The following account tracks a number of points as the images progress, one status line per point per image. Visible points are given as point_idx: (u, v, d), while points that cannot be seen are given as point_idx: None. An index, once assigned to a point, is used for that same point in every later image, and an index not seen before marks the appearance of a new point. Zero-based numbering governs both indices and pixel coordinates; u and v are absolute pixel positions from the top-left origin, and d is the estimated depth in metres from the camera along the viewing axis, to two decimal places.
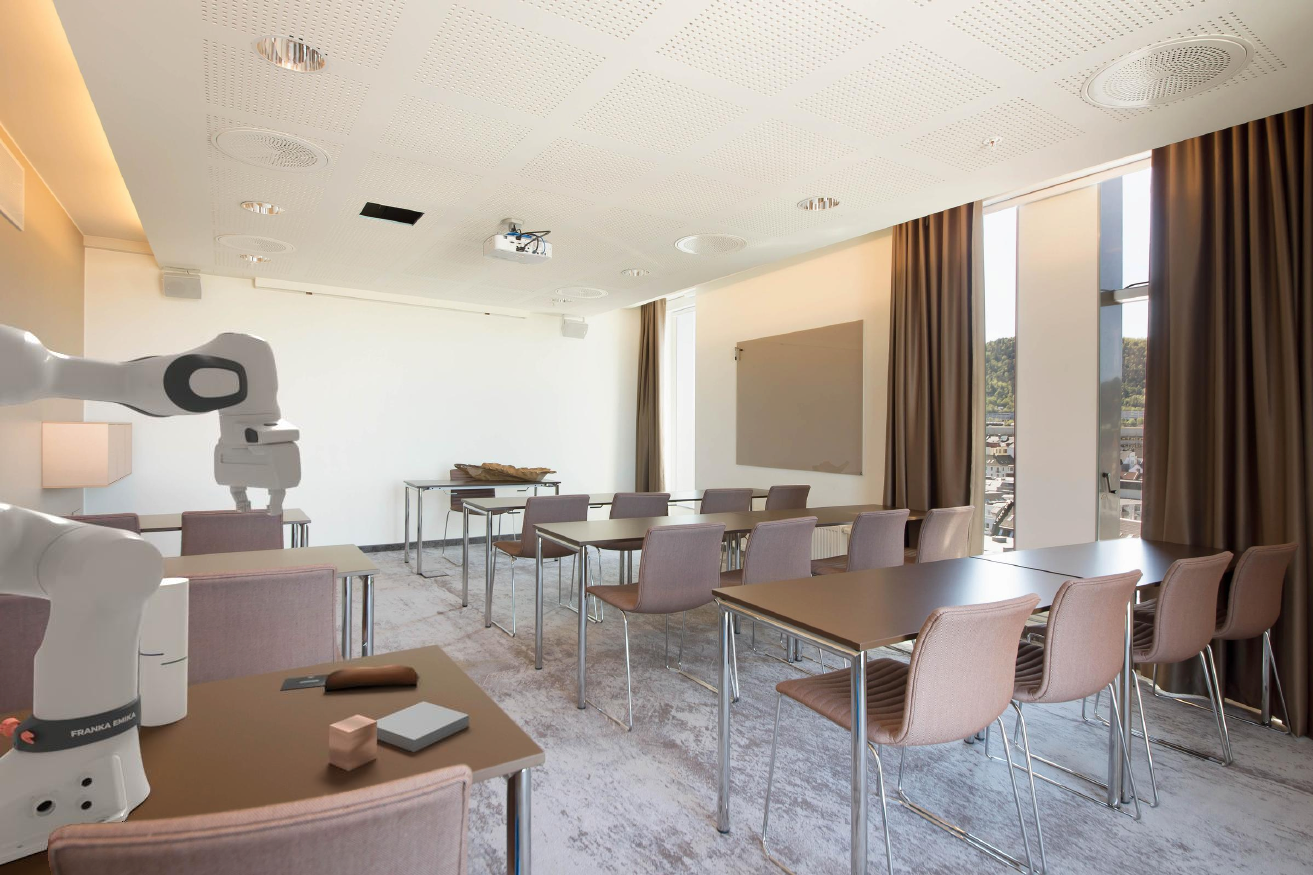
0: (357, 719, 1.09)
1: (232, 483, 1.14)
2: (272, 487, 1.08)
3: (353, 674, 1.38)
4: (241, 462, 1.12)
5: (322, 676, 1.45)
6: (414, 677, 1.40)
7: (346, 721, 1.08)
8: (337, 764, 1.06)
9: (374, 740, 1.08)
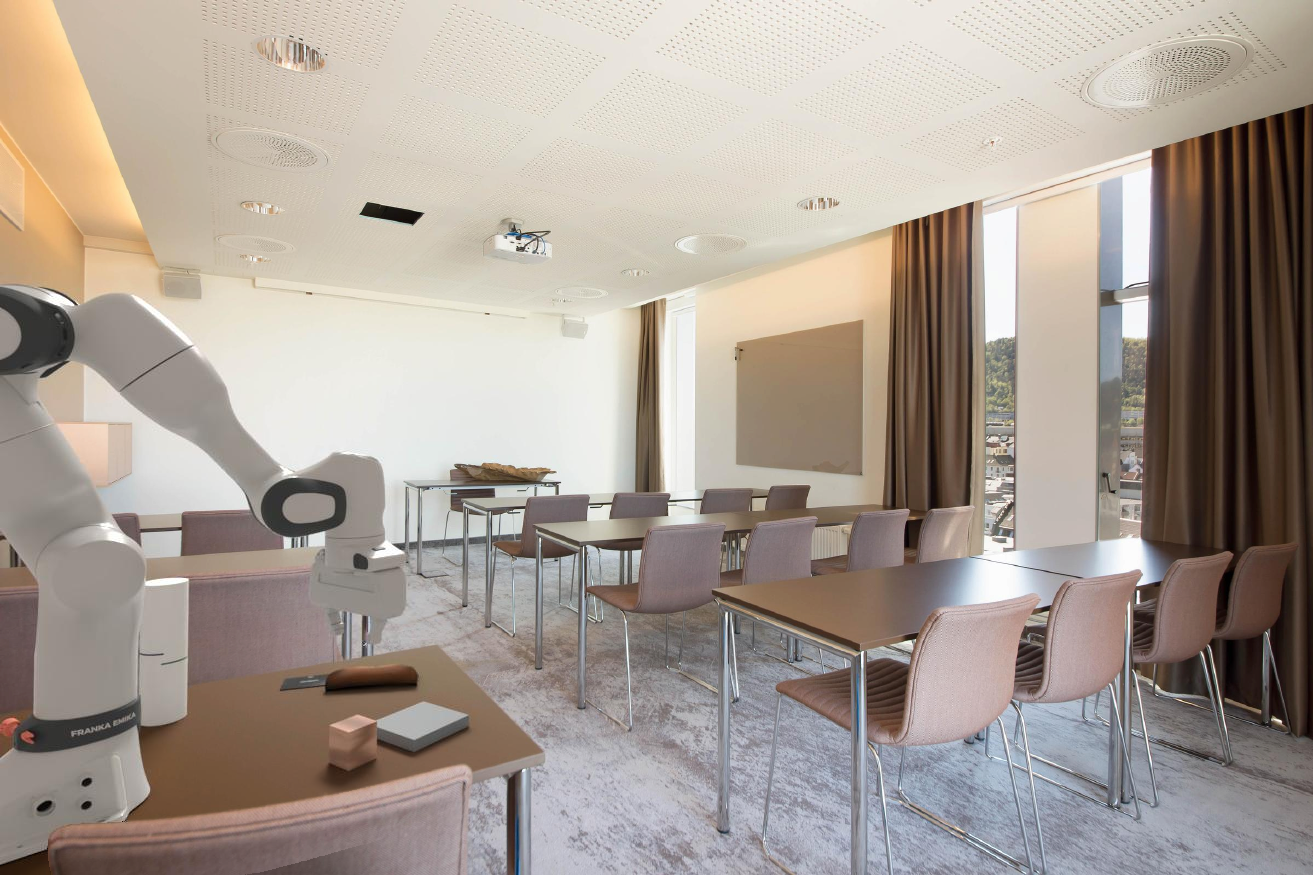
0: (357, 719, 1.09)
1: (329, 605, 1.09)
2: (376, 616, 1.03)
3: (353, 673, 1.38)
4: (342, 585, 1.07)
5: (322, 676, 1.45)
6: (414, 676, 1.40)
7: (346, 721, 1.08)
8: (337, 764, 1.06)
9: (374, 740, 1.08)
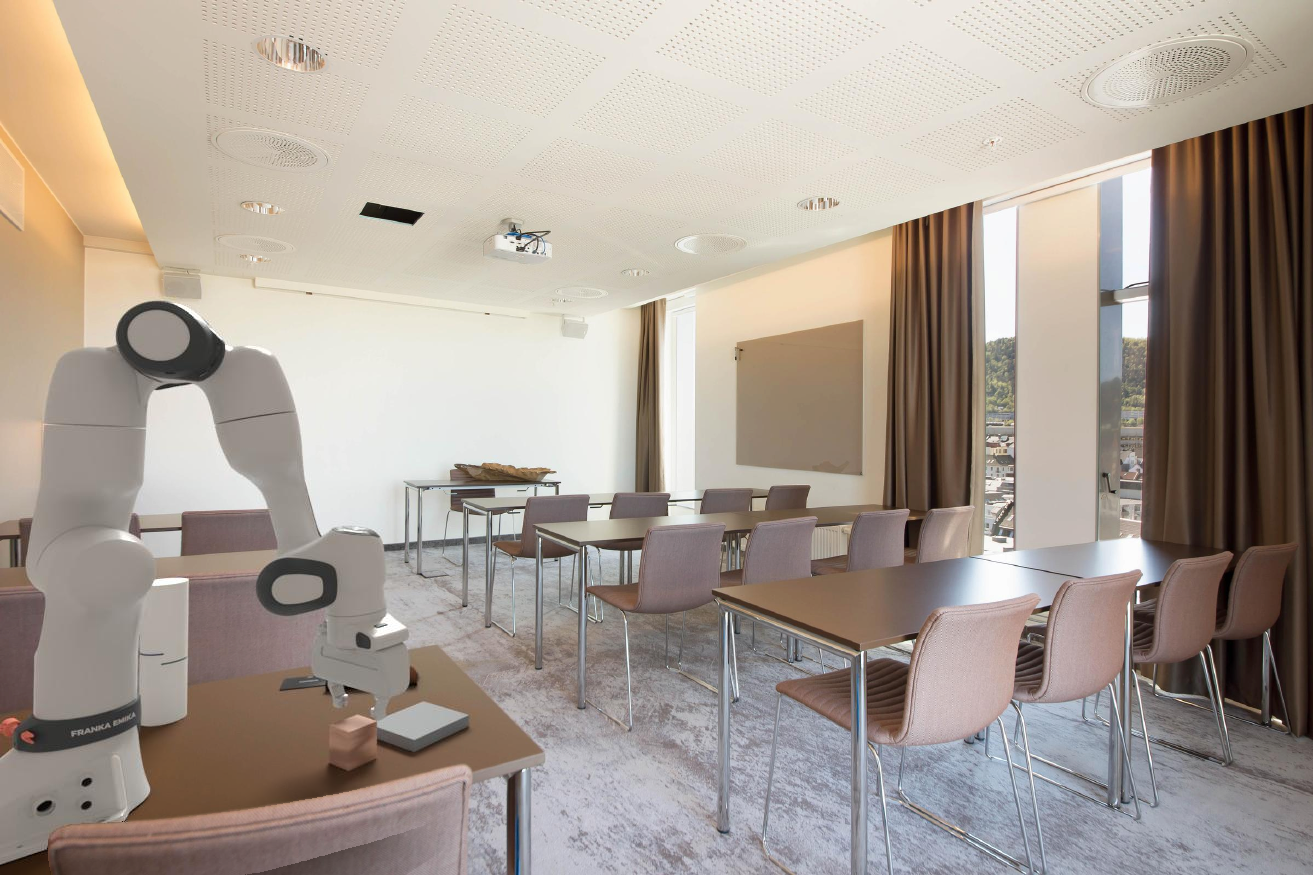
0: (356, 719, 1.09)
1: (332, 679, 1.09)
2: (380, 694, 1.03)
3: None
4: (345, 660, 1.07)
5: None
6: (414, 676, 1.40)
7: (346, 721, 1.08)
8: (337, 764, 1.06)
9: (374, 740, 1.08)
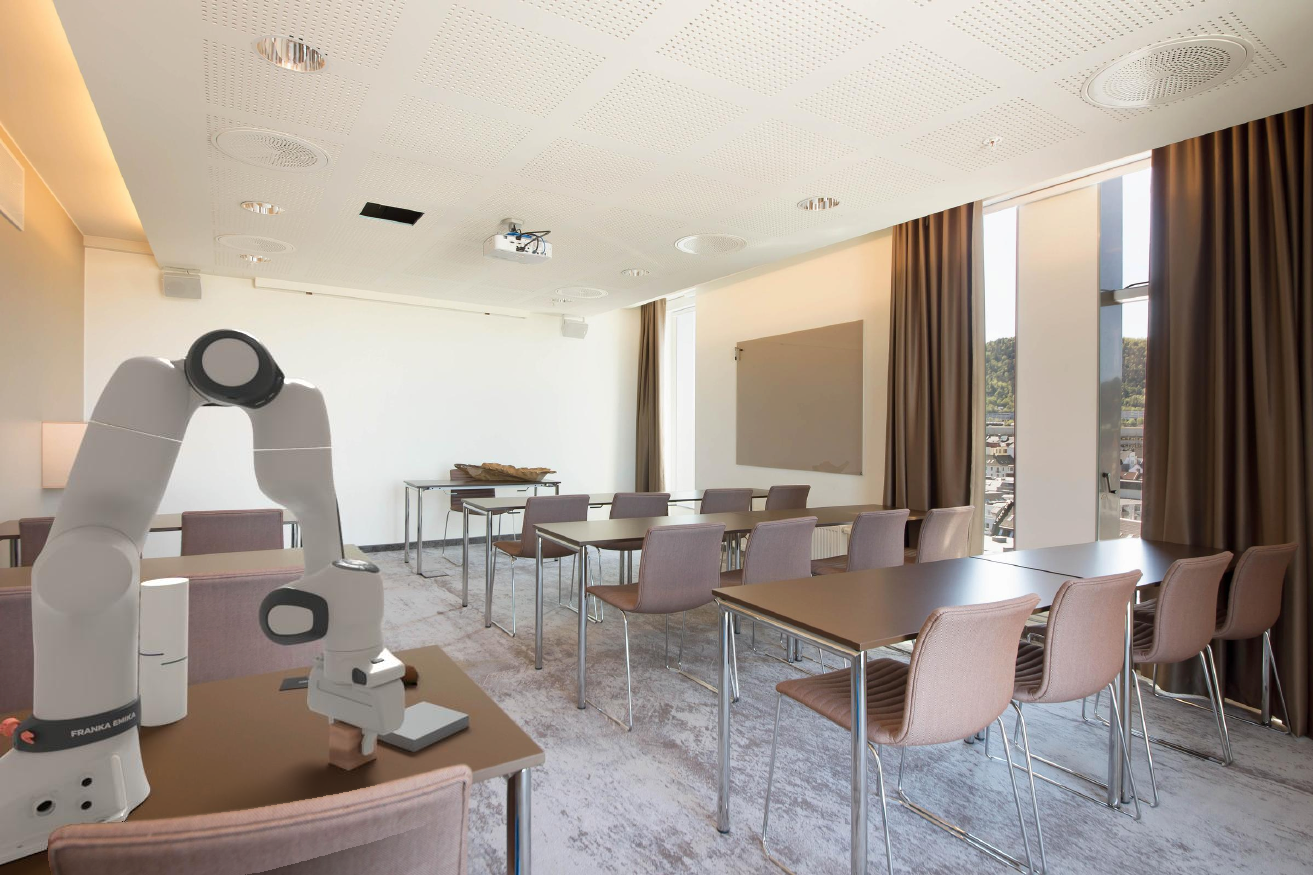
0: None
1: (327, 714, 1.08)
2: (374, 731, 1.02)
3: None
4: (340, 694, 1.07)
5: None
6: (415, 676, 1.41)
7: None
8: (337, 763, 1.06)
9: None
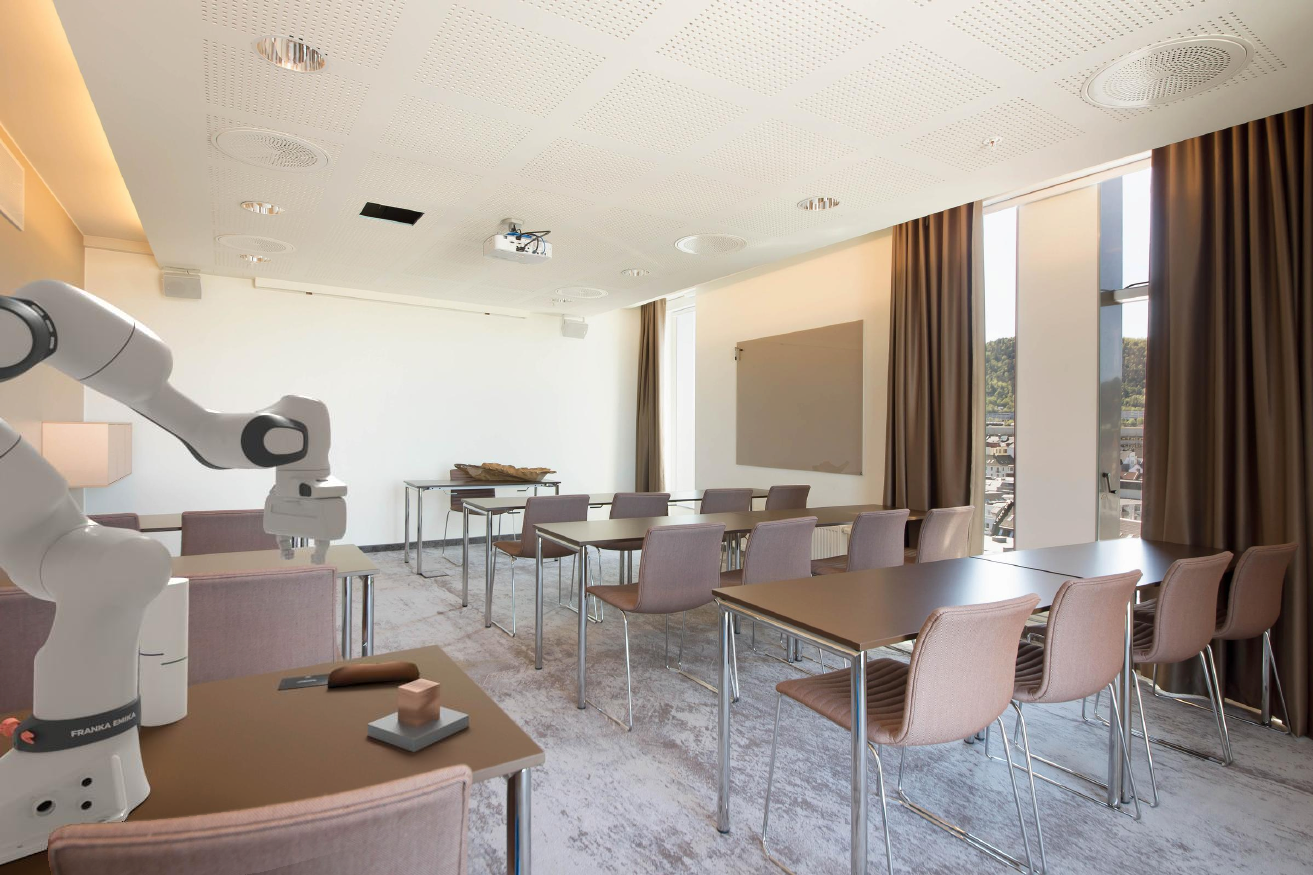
0: (421, 682, 1.20)
1: (280, 532, 1.23)
2: (319, 538, 1.17)
3: (355, 671, 1.40)
4: (291, 513, 1.21)
5: (319, 676, 1.45)
6: (416, 673, 1.43)
7: (412, 684, 1.19)
8: (406, 721, 1.17)
9: (438, 701, 1.19)
